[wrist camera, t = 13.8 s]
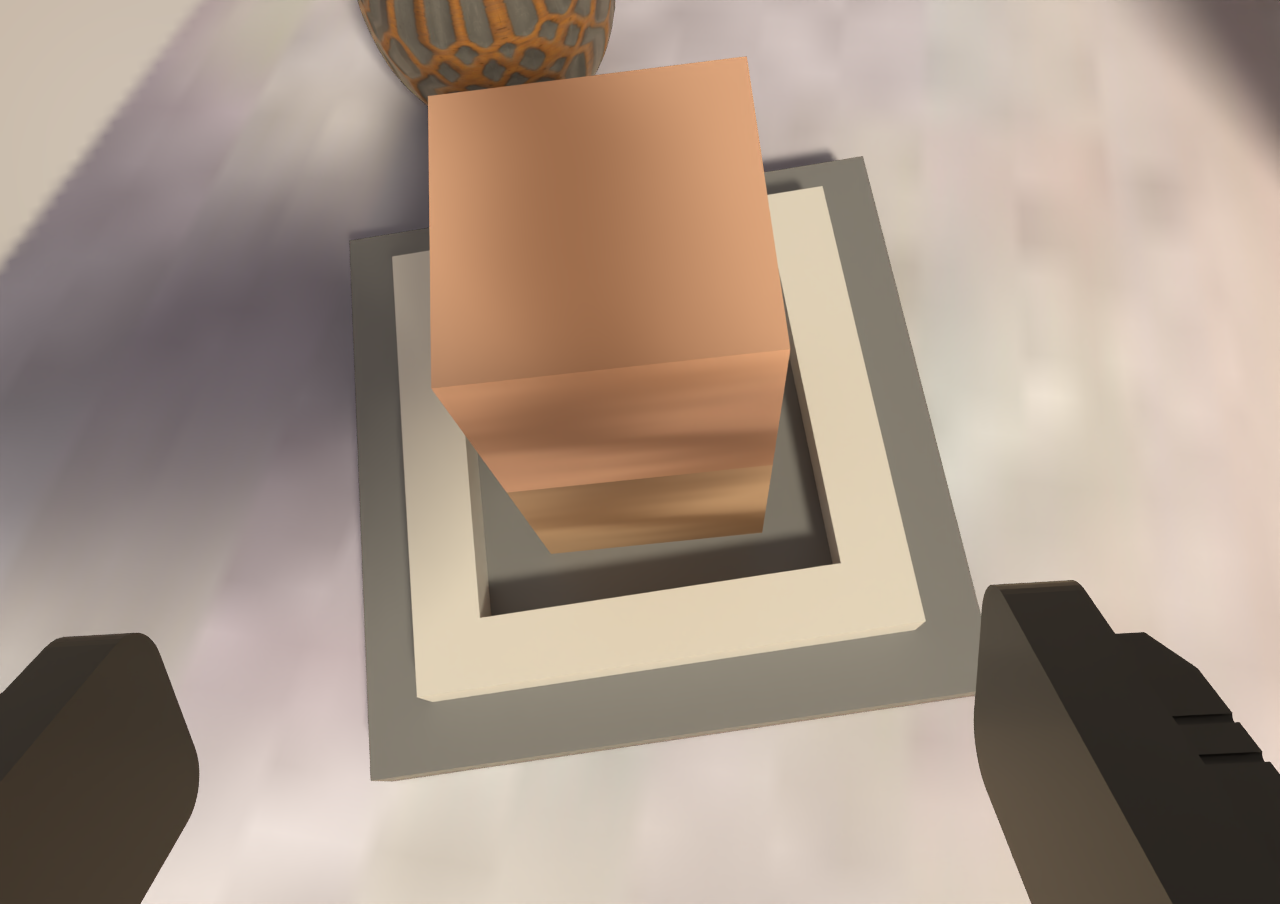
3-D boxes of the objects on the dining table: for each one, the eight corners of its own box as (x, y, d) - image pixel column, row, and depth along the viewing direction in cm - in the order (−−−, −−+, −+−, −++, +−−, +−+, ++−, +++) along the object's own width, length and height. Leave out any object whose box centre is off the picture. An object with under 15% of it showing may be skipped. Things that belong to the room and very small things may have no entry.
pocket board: (855, 189, 27) (869, 127, 25) (982, 694, 22) (1015, 682, 20) (368, 269, 28) (332, 215, 25) (392, 781, 23) (351, 780, 20)
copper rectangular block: (737, 340, 24) (746, 56, 15) (762, 532, 23) (790, 348, 13) (541, 362, 25) (428, 96, 15) (550, 553, 23) (431, 388, 13)
